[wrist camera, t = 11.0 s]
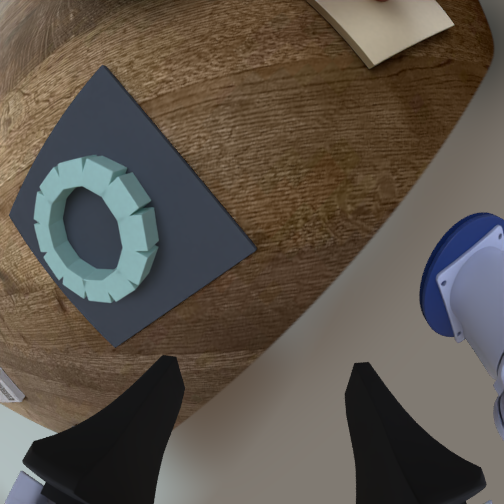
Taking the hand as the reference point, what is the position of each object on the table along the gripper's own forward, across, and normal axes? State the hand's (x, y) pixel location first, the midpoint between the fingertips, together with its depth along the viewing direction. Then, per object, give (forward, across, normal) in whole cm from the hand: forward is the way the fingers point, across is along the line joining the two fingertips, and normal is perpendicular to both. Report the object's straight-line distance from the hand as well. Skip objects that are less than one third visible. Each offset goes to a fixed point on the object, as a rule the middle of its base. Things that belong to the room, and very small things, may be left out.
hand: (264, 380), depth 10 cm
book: (+10, +64, +32) cm, 72 cm away
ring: (+9, +14, -3) cm, 17 cm away
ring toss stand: (+10, -7, -20) cm, 24 cm away
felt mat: (+10, +14, -3) cm, 17 cm away
